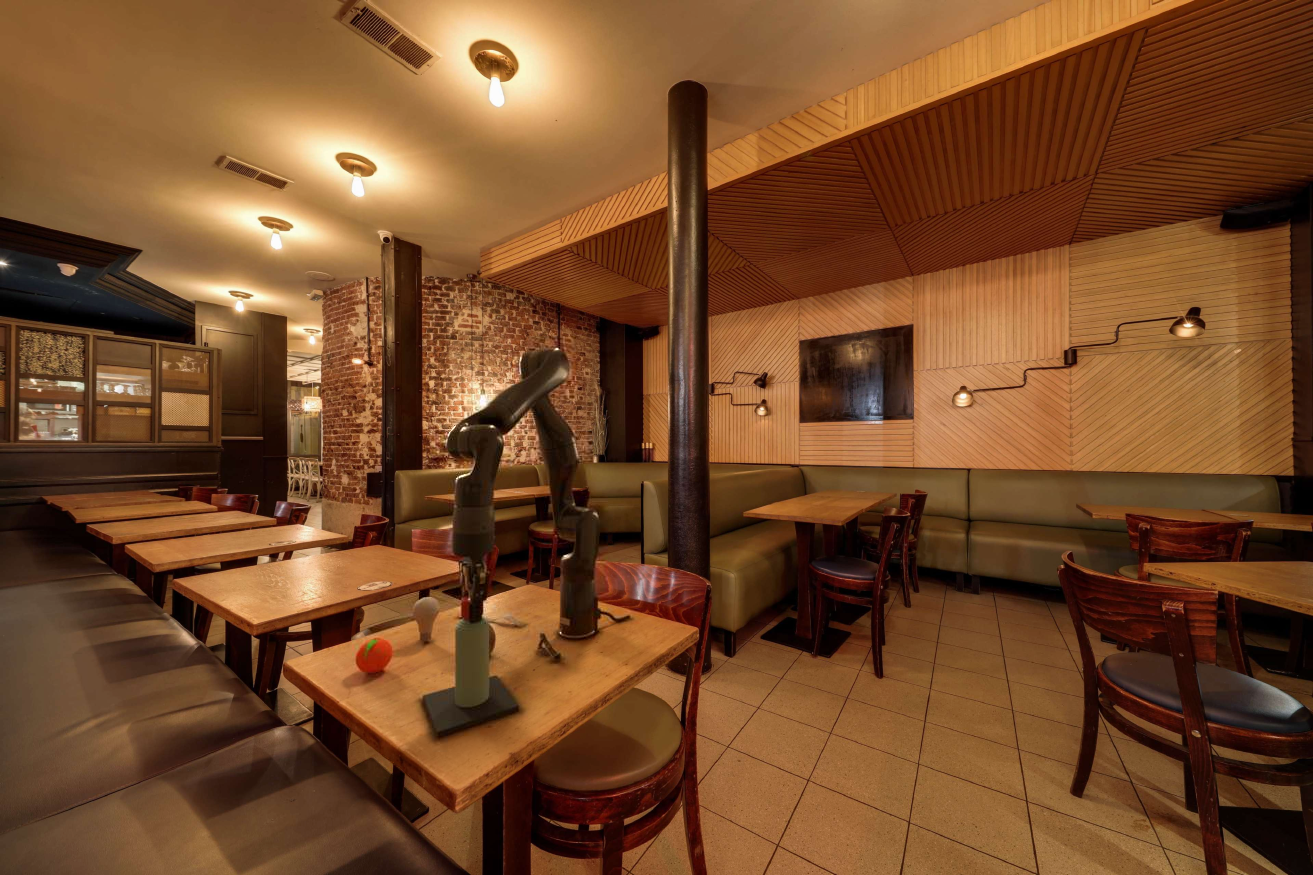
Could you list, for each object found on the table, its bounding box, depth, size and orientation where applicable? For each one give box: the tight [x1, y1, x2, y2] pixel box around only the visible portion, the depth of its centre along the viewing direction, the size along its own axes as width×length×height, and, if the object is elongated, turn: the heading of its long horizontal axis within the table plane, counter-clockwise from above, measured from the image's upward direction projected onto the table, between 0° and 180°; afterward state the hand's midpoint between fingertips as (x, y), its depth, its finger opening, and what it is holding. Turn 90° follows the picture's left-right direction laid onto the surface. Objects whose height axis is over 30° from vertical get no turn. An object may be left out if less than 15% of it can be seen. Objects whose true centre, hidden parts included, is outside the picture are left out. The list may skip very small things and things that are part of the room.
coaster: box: [422, 674, 520, 739], centre depth 87 cm, size 14×14×1 cm
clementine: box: [355, 637, 394, 674], centre depth 99 cm, size 8×7×7 cm
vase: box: [489, 623, 497, 656], centre depth 107 cm, size 7×7×9 cm
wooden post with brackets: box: [537, 632, 562, 663], centre depth 108 cm, size 2×8×4 cm, turn 46°
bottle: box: [454, 615, 490, 707], centre depth 87 cm, size 6×6×18 cm
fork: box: [458, 613, 525, 628], centre depth 129 cm, size 3×21×3 cm, turn 72°
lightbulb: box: [411, 596, 441, 643], centre depth 115 cm, size 6×6×11 cm
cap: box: [460, 596, 484, 619], centre depth 87 cm, size 4×4×3 cm
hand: (472, 618), depth 87 cm, fingers closed on cap, 3 cm apart
